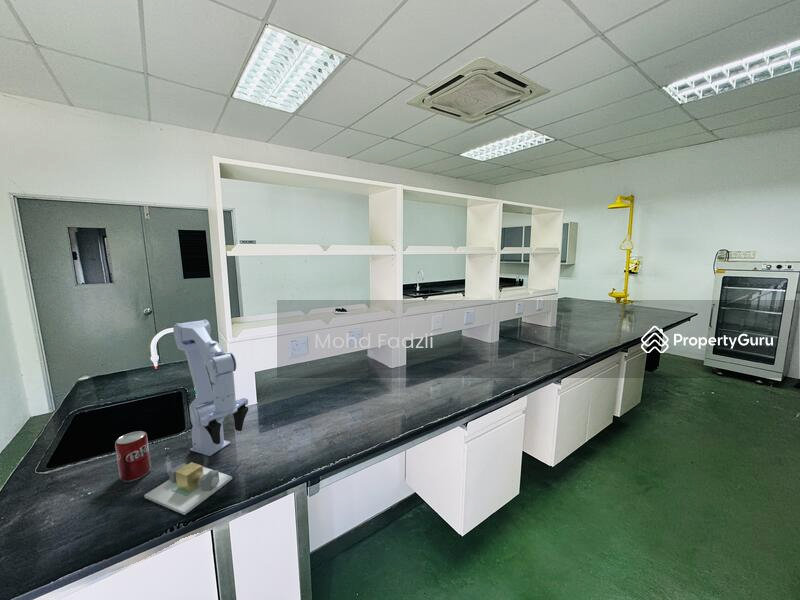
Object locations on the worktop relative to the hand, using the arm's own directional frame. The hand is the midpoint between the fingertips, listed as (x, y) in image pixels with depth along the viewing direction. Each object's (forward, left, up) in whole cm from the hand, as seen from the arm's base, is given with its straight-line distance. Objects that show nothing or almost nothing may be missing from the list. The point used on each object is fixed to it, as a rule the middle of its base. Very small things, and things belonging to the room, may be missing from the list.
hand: (228, 436), depth 97 cm
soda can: (-23, -13, -10) cm, 29 cm away
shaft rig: (-2, -11, -10) cm, 15 cm away
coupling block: (-2, -11, -9) cm, 14 cm away
